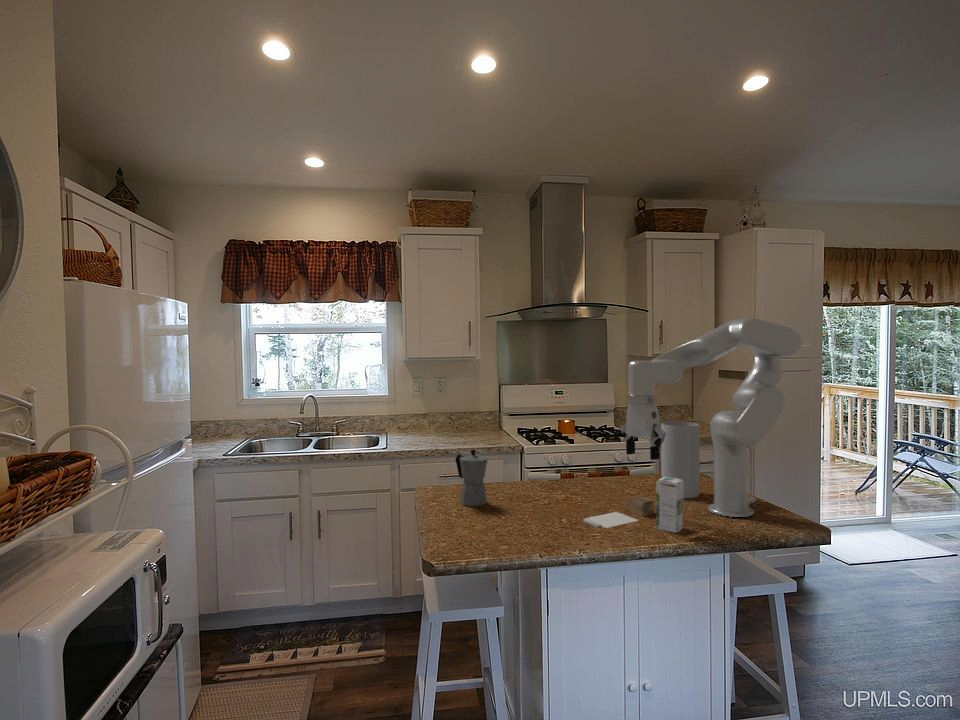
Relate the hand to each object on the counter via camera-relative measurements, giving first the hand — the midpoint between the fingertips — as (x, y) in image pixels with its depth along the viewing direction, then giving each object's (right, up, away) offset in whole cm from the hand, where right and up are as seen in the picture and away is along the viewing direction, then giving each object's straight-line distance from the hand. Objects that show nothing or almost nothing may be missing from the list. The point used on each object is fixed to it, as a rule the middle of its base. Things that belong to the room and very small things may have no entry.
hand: (642, 456), depth 154 cm
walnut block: (0, -18, 0) cm, 18 cm away
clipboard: (-11, -18, -6) cm, 22 cm away
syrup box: (+3, -18, -14) cm, 23 cm away
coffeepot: (-53, -19, +17) cm, 59 cm away
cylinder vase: (+21, -18, +24) cm, 37 cm away
